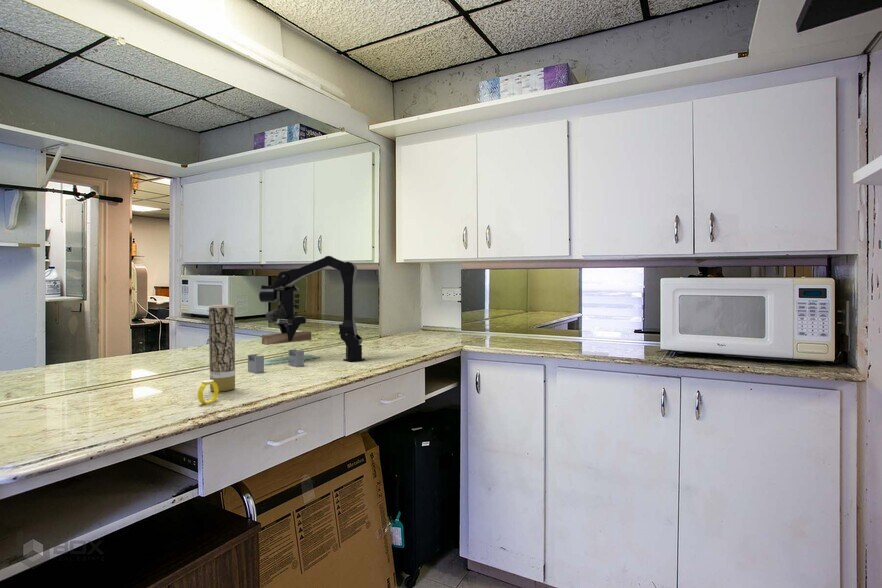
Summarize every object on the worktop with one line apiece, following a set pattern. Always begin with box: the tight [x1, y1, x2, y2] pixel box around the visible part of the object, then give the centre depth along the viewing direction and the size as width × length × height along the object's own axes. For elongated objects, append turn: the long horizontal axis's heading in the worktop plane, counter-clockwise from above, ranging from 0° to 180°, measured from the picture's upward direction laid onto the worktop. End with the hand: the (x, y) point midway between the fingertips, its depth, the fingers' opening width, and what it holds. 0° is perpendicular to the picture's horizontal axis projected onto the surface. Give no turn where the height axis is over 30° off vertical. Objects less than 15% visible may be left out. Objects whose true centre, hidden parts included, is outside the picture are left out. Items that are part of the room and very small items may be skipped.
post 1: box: [247, 353, 265, 374], centre depth 167 cm, size 6×3×6 cm, turn 49°
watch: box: [197, 379, 219, 405], centre depth 124 cm, size 6×3×6 cm, turn 164°
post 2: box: [287, 348, 305, 368], centre depth 179 cm, size 6×3×6 cm, turn 49°
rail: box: [261, 330, 312, 346], centre depth 190 cm, size 4×20×4 cm, turn 139°
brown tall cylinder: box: [208, 304, 236, 392], centre depth 139 cm, size 7×7×25 cm
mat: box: [264, 354, 320, 366], centre depth 190 cm, size 9×24×1 cm, turn 139°
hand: (287, 340), depth 190 cm, fingers closed on rail, 3 cm apart
